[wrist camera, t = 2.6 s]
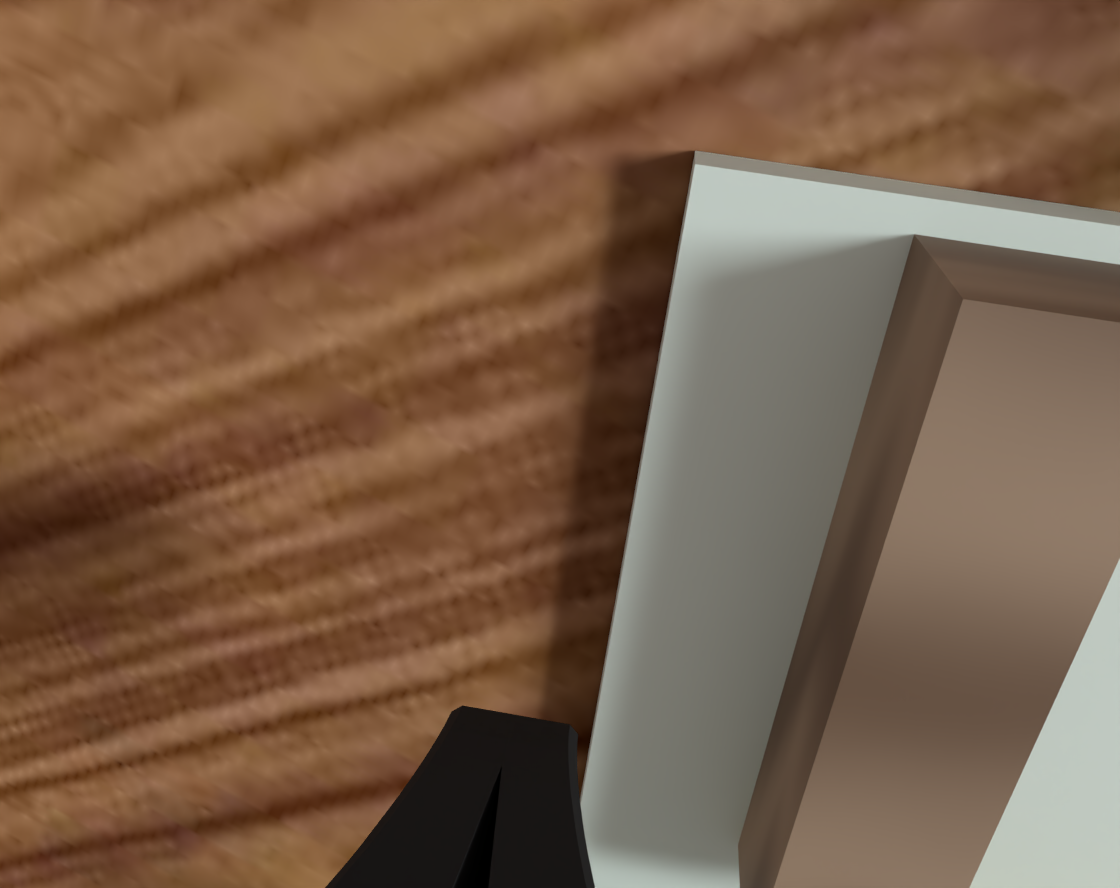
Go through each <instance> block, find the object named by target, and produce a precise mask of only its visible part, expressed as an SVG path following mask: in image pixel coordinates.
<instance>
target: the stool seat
mask: <svg viewBox="0 0 1120 888" xmlns="http://www.w3.org/2000/svg"><path fill="white" fill-rule="evenodd" d="M914 234H917V235H924V236H930V237H937V238H944V239H951V240H957V241H964V242H971V243H978V244H984V245H991V246H998V247H1005V248H1011V249H1018V250H1025V251H1032V252H1038V253H1045V254H1052V255H1059V256H1065V257H1072V258H1079V259H1086V260H1092V261H1099V262H1106V263H1113V264H1119V265H1120V212H1114V211H1107V210H1101V209H1094V208H1087V207H1080V206H1073V205H1066V204H1059V203H1052V202H1045V201H1039V200H1032V199H1025V198H1018V197H1011V196H1004V195H997V194H990V193H983V192H977V191H970V190H963V189H956V188H949V187H942V186H935V185H928V184H921V183H915V182H908V181H901V180H894V179H887V178H880V177H873V176H866V175H859V174H853V173H846V172H839V171H832V170H825V169H818V168H811V167H804V166H797V165H791V164H784V163H777V162H770V161H763V160H756V159H749V158H742V157H735V156H729V155H722V154H715V153H708V152H701V151H695V154H694V160H693V166H692V171H691V177H690V182H689V188H688V194H687V199H686V205H685V211H684V216H683V222H682V228H681V233H680V239H679V244H678V250H677V256H676V261H675V267H674V273H673V278H672V284H671V290H670V295H669V301H668V306H667V312H666V318H665V323H664V329H663V335H662V340H661V346H660V352H659V357H658V363H657V368H656V374H655V380H654V385H653V391H652V397H651V402H650V408H649V414H648V419H647V425H646V430H645V436H644V442H643V447H642V453H641V459H640V464H639V470H638V476H637V481H636V487H635V492H634V498H633V504H632V509H631V515H630V521H629V526H628V532H627V538H626V543H625V549H624V554H623V560H622V566H621V571H620V577H619V583H618V588H617V594H616V600H615V605H614V611H613V616H612V622H611V628H610V633H609V639H608V645H607V650H606V656H605V662H604V667H603V673H602V678H601V684H600V690H599V695H598V701H597V707H596V712H595V718H594V724H593V729H592V735H591V740H590V746H589V752H588V757H587V763H586V769H585V774H584V780H583V786H582V791H581V797H580V805H581V812H582V820H583V827H584V834H585V839H586V845H587V851H588V856H589V861H590V866H591V871H592V875H593V880H594V885H595V888H740V879H739V857H738V843H739V839H740V836H741V832H742V829H743V826H744V822H745V819H746V815H747V812H748V808H749V805H750V801H751V798H752V794H753V791H754V787H755V784H756V780H757V777H758V774H759V770H760V767H761V763H762V760H763V756H764V753H765V749H766V746H767V742H768V739H769V735H770V732H771V728H772V725H773V722H774V718H775V715H776V711H777V708H778V704H779V701H780V697H781V694H782V690H783V687H784V683H785V680H786V676H787V673H788V670H789V666H790V663H791V659H792V656H793V652H794V649H795V645H796V642H797V638H798V635H799V631H800V628H801V624H802V621H803V618H804V614H805V611H806V607H807V604H808V600H809V597H810V593H811V590H812V586H813V583H814V579H815V576H816V572H817V569H818V566H819V562H820V559H821V555H822V552H823V548H824V545H825V541H826V538H827V534H828V531H829V527H830V524H831V520H832V517H833V514H834V510H835V507H836V503H837V500H838V496H839V493H840V489H841V486H842V482H843V479H844V475H845V472H846V468H847V465H848V462H849V458H850V455H851V451H852V448H853V444H854V441H855V437H856V434H857V430H858V427H859V423H860V420H861V416H862V413H863V410H864V406H865V403H866V399H867V396H868V392H869V389H870V385H871V382H872V378H873V375H874V371H875V368H876V364H877V361H878V358H879V354H880V351H881V347H882V344H883V340H884V337H885V333H886V330H887V326H888V323H889V319H890V316H891V312H892V309H893V306H894V302H895V299H896V295H897V292H898V288H899V285H900V281H901V278H902V274H903V271H904V267H905V264H906V260H907V257H908V254H909V250H910V247H911V243H912V240H913V236H914ZM970 888H1120V559H1119V561H1118V563H1117V565H1116V568H1115V570H1114V572H1113V574H1112V576H1111V579H1110V581H1109V583H1108V585H1107V587H1106V590H1105V592H1104V594H1103V596H1102V598H1101V600H1100V603H1099V605H1098V607H1097V609H1096V611H1095V614H1094V616H1093V618H1092V620H1091V622H1090V625H1089V627H1088V629H1087V631H1086V633H1085V636H1084V638H1083V640H1082V642H1081V644H1080V647H1079V649H1078V651H1077V653H1076V655H1075V657H1074V660H1073V662H1072V664H1071V666H1070V668H1069V671H1068V673H1067V675H1066V677H1065V679H1064V682H1063V684H1062V686H1061V688H1060V690H1059V693H1058V695H1057V697H1056V699H1055V701H1054V703H1053V706H1052V708H1051V710H1050V712H1049V714H1048V717H1047V719H1046V721H1045V723H1044V725H1043V728H1042V730H1041V732H1040V734H1039V736H1038V739H1037V741H1036V743H1035V745H1034V747H1033V749H1032V752H1031V754H1030V756H1029V758H1028V760H1027V763H1026V765H1025V767H1024V769H1023V771H1022V774H1021V776H1020V778H1019V780H1018V782H1017V785H1016V787H1015V789H1014V791H1013V793H1012V796H1011V798H1010V800H1009V802H1008V804H1007V806H1006V809H1005V811H1004V813H1003V815H1002V817H1001V820H1000V822H999V824H998V826H997V828H996V831H995V833H994V835H993V837H992V839H991V842H990V844H989V846H988V848H987V850H986V852H985V855H984V857H983V859H982V861H981V863H980V866H979V868H978V870H977V872H976V874H975V877H974V879H973V881H972V883H971V885H970Z"/></svg>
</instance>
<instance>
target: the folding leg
mask: <svg viewBox="0 0 1120 888" xmlns="http://www.w3.org/2000/svg"><path fill="white" fill-rule="evenodd" d="M1119 559H1120V265H1119V264H1113V263H1106V262H1099V261H1092V260H1086V259H1079V258H1072V257H1065V256H1059V255H1052V254H1045V253H1038V252H1032V251H1025V250H1018V249H1011V248H1005V247H998V246H991V245H984V244H978V243H971V242H964V241H957V240H951V239H944V238H937V237H930V236H924V235H917V234H914V236H913V240H912V243H911V247H910V250H909V254H908V257H907V260H906V264H905V267H904V271H903V274H902V278H901V281H900V285H899V288H898V292H897V295H896V299H895V302H894V306H893V309H892V312H891V316H890V319H889V323H888V326H887V330H886V333H885V337H884V340H883V344H882V347H881V351H880V354H879V358H878V361H877V364H876V368H875V371H874V375H873V378H872V382H871V385H870V389H869V392H868V396H867V399H866V403H865V406H864V410H863V413H862V416H861V420H860V423H859V427H858V430H857V434H856V437H855V441H854V444H853V448H852V451H851V455H850V458H849V462H848V465H847V468H846V472H845V475H844V479H843V482H842V486H841V489H840V493H839V496H838V500H837V503H836V507H835V510H834V514H833V517H832V520H831V524H830V527H829V531H828V534H827V538H826V541H825V545H824V548H823V552H822V555H821V559H820V562H819V566H818V569H817V572H816V576H815V579H814V583H813V586H812V590H811V593H810V597H809V600H808V604H807V607H806V611H805V614H804V618H803V621H802V624H801V628H800V631H799V635H798V638H797V642H796V645H795V649H794V652H793V656H792V659H791V663H790V666H789V670H788V673H787V676H786V680H785V683H784V687H783V690H782V694H781V697H780V701H779V704H778V708H777V711H776V715H775V718H774V722H773V725H772V728H771V732H770V735H769V739H768V742H767V746H766V749H765V753H764V756H763V760H762V763H761V767H760V770H759V774H758V777H757V780H756V784H755V787H754V791H753V794H752V798H751V801H750V805H749V808H748V812H747V815H746V819H745V822H744V826H743V829H742V832H741V836H740V839H739V843H738V857H739V879H740V888H970V885H971V883H972V881H973V879H974V877H975V874H976V872H977V870H978V868H979V866H980V863H981V861H982V859H983V857H984V855H985V852H986V850H987V848H988V846H989V844H990V842H991V839H992V837H993V835H994V833H995V831H996V828H997V826H998V824H999V822H1000V820H1001V817H1002V815H1003V813H1004V811H1005V809H1006V806H1007V804H1008V802H1009V800H1010V798H1011V796H1012V793H1013V791H1014V789H1015V787H1016V785H1017V782H1018V780H1019V778H1020V776H1021V774H1022V771H1023V769H1024V767H1025V765H1026V763H1027V760H1028V758H1029V756H1030V754H1031V752H1032V749H1033V747H1034V745H1035V743H1036V741H1037V739H1038V736H1039V734H1040V732H1041V730H1042V728H1043V725H1044V723H1045V721H1046V719H1047V717H1048V714H1049V712H1050V710H1051V708H1052V706H1053V703H1054V701H1055V699H1056V697H1057V695H1058V693H1059V690H1060V688H1061V686H1062V684H1063V682H1064V679H1065V677H1066V675H1067V673H1068V671H1069V668H1070V666H1071V664H1072V662H1073V660H1074V657H1075V655H1076V653H1077V651H1078V649H1079V647H1080V644H1081V642H1082V640H1083V638H1084V636H1085V633H1086V631H1087V629H1088V627H1089V625H1090V622H1091V620H1092V618H1093V616H1094V614H1095V611H1096V609H1097V607H1098V605H1099V603H1100V600H1101V598H1102V596H1103V594H1104V592H1105V590H1106V587H1107V585H1108V583H1109V581H1110V579H1111V576H1112V574H1113V572H1114V570H1115V568H1116V565H1117V563H1118V561H1119Z"/></svg>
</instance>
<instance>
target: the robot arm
mask: <svg viewBox="0 0 1120 888" xmlns="http://www.w3.org/2000/svg"><path fill="white" fill-rule="evenodd" d="M577 740H578V734H577V733H576V731H575V730H574V729H573V728H572V727H571V725H570V724H564V723H558V722H553V721H547V720H541V719H536V718H530V717H524V716H519V715H513V714H507V713H502V712H496V711H490V710H485V709H479V708H473V707H468V706H461V707H459V708H457V709H456V710H454V711H452V712H451V714H450V716H449V718H448V720H447V722H446V724H445V726H444V727H443V729H442V731H441V733H440V734H439V736H438V738H437V739H436V741H435V743H434V744H433V746H432V748H431V749H430V751H429V752H428V754H427V756H426V757H425V759H424V760H423V762H422V763H421V765H420V766H419V768H418V769H417V771H416V772H415V773H414V775H413V776H412V778H411V779H410V781H409V782H408V783H407V785H406V786H405V788H404V789H403V791H402V792H401V794H400V795H399V796H398V798H397V799H396V800H395V802H394V803H393V804H392V806H391V807H390V808H389V809H388V811H387V812H386V813H385V815H384V816H383V817H382V819H381V820H380V821H379V823H378V824H377V825H376V826H375V828H374V829H373V830H372V832H371V833H370V834H369V836H368V837H367V838H366V840H365V841H364V842H363V843H362V845H361V846H360V847H359V849H358V850H357V851H356V852H355V853H354V855H353V856H352V857H351V858H350V860H349V861H348V862H347V863H346V864H345V865H344V867H343V868H342V869H341V870H340V871H339V872H338V874H337V875H336V876H335V877H334V878H333V879H332V880H331V882H330V883H329V884H328V885H327V886H326V887H325V888H595V885H594V880H593V875H592V871H591V866H590V861H589V856H588V851H587V845H586V839H585V834H584V827H583V820H582V812H581V805H580V797H579V786H578V773H577Z"/></svg>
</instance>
